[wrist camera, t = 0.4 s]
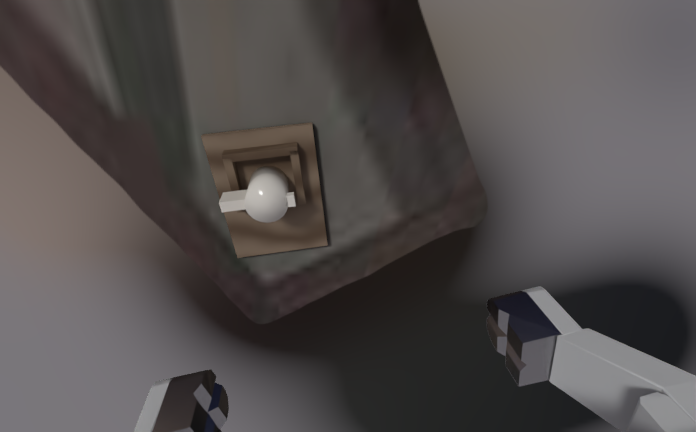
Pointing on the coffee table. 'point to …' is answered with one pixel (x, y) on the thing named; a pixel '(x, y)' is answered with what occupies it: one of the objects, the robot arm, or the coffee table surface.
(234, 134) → the cradle board
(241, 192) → the white capsule with handle
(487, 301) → the robot arm
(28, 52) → the coffee table surface
